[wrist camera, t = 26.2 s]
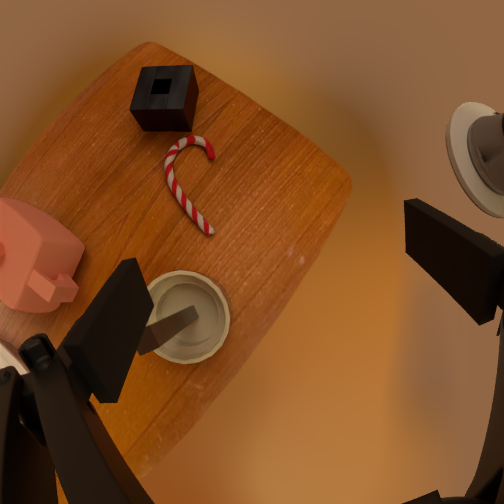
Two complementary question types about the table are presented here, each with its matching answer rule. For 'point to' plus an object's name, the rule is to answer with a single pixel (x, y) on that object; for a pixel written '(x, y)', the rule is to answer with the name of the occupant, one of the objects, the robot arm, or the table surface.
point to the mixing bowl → (201, 329)
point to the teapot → (35, 258)
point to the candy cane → (176, 188)
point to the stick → (165, 329)
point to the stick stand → (165, 98)
